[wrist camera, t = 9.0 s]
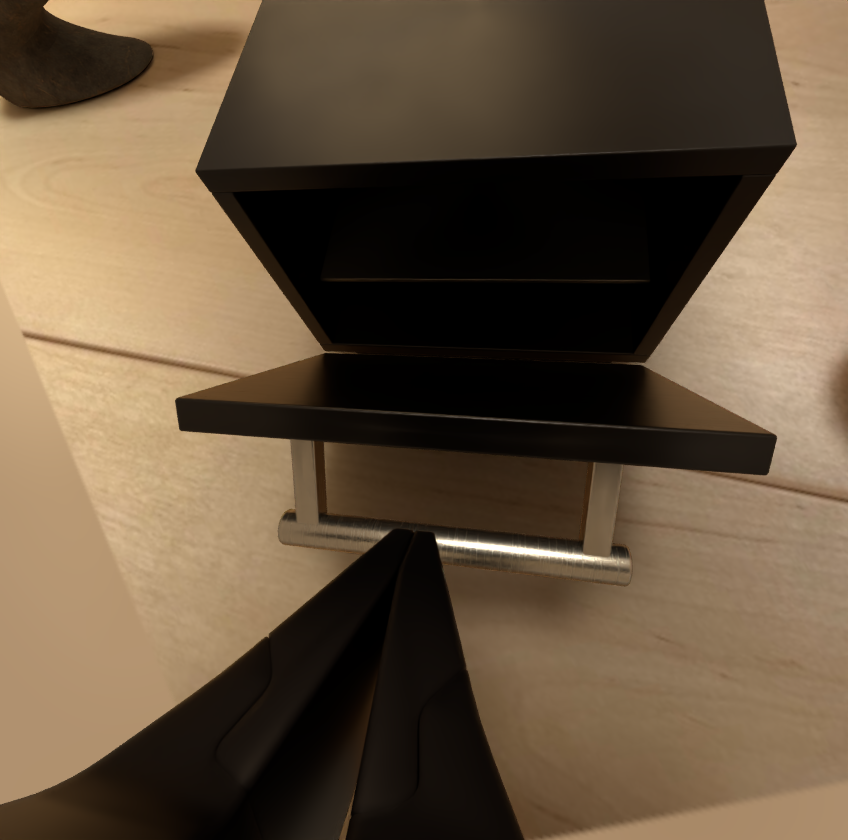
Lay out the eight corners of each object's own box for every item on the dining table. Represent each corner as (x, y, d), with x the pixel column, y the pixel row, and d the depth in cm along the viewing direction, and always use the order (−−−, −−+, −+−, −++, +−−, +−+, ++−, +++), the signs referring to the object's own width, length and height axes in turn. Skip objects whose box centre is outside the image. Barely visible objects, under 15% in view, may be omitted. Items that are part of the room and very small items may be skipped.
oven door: (625, 475, 21) (730, 637, 11) (329, 452, 24) (197, 564, 14) (642, 364, 20) (780, 435, 10) (324, 352, 22) (173, 398, 12)
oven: (632, 381, 22) (797, 145, 10) (336, 368, 25) (194, 171, 13) (624, 189, 27) (734, -138, 15) (372, 196, 29) (290, -72, 17)
